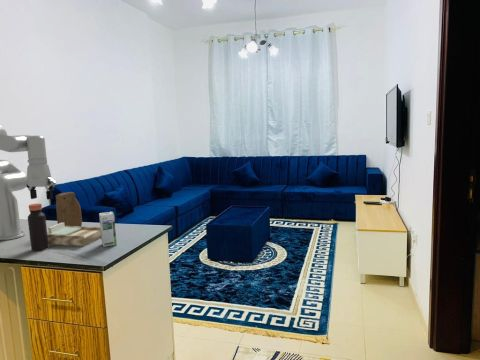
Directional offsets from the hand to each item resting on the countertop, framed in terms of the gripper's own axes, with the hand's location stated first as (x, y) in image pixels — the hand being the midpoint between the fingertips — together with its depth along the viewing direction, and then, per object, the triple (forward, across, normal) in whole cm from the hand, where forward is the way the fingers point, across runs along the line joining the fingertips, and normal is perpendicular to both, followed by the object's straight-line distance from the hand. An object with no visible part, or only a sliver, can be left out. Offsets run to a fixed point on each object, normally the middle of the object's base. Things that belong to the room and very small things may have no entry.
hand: (41, 198), depth 176 cm
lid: (+16, +10, 0) cm, 19 cm away
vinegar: (+20, +8, -13) cm, 25 cm away
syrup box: (+20, +36, -3) cm, 41 cm away
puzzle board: (+20, +15, 0) cm, 25 cm away
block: (+20, +2, +15) cm, 25 cm away
